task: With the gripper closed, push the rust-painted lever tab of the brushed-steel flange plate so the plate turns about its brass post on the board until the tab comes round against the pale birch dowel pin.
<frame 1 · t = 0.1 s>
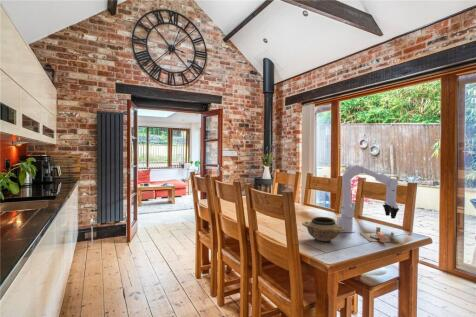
hand: (390, 216, 180), 10 cm above the table, fingers open, 7 cm apart
dowel pin: (391, 240, 163), resting on board
ceramic bowl: (322, 241, 161), on the table
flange: (379, 234, 165), point 3 cm above the table, hinge at -100.0°
board: (377, 238, 168), on the table
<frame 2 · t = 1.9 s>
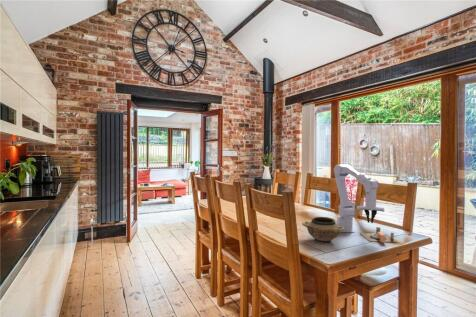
hand: (370, 222, 164), 10 cm above the table, fingers closed
nothing on the table moved.
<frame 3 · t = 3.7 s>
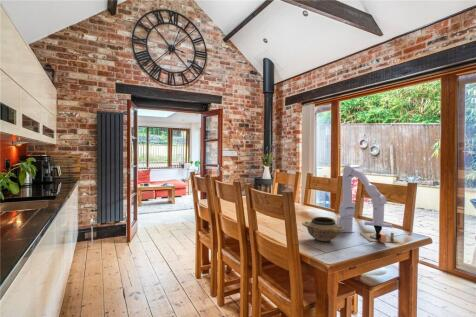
hand: (377, 238, 161), 2 cm above the table, fingers closed, pressing on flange
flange: (379, 234, 165), point 3 cm above the table, hinge at -98.4°, touching gripper
everything else where it was.
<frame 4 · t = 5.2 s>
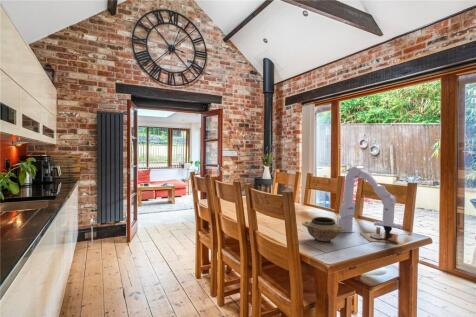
hand: (387, 238, 161), 2 cm above the table, fingers closed, pressing on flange
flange: (383, 234, 165), point 3 cm above the table, hinge at -45.7°, touching dowel pin, gripper
everything else where it was.
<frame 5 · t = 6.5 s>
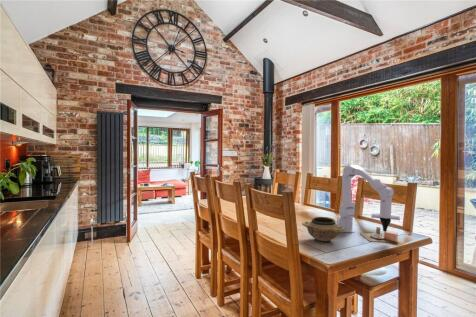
hand: (384, 231, 160), 7 cm above the table, fingers closed
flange: (383, 234, 165), point 3 cm above the table, hinge at -45.8°
everything else where it was.
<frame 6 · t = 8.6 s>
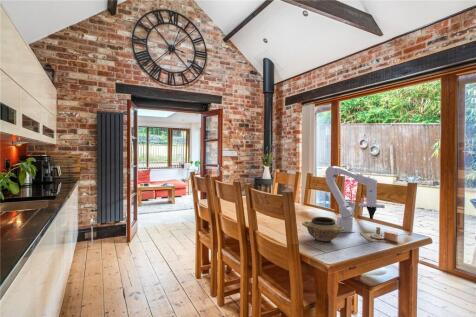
hand: (371, 218, 173), 10 cm above the table, fingers closed
nothing on the table moved.
at the end: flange at -46° (first picture: -100°) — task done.
